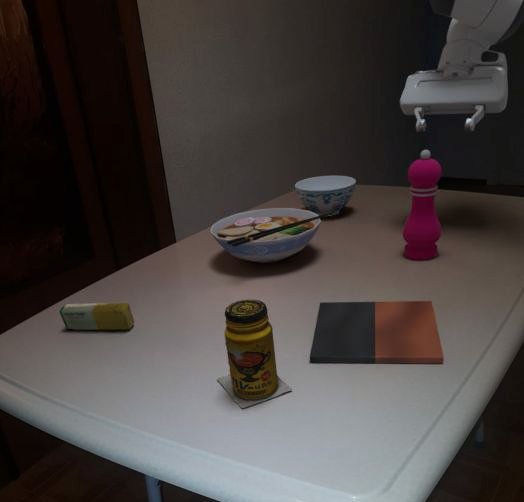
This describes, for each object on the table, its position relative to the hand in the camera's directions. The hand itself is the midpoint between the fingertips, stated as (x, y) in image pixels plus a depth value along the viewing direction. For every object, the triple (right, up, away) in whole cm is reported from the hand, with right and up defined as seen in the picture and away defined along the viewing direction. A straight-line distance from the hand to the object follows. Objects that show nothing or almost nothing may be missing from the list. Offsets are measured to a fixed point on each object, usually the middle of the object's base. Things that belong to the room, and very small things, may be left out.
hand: (443, 129), depth 109 cm
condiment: (-37, -48, -34) cm, 69 cm away
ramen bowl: (-34, -24, +9) cm, 43 cm away
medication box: (-63, -39, -13) cm, 76 cm away
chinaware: (-19, -8, +34) cm, 39 cm away
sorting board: (-18, -40, -24) cm, 51 cm away
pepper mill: (-4, -24, +2) cm, 25 cm away
